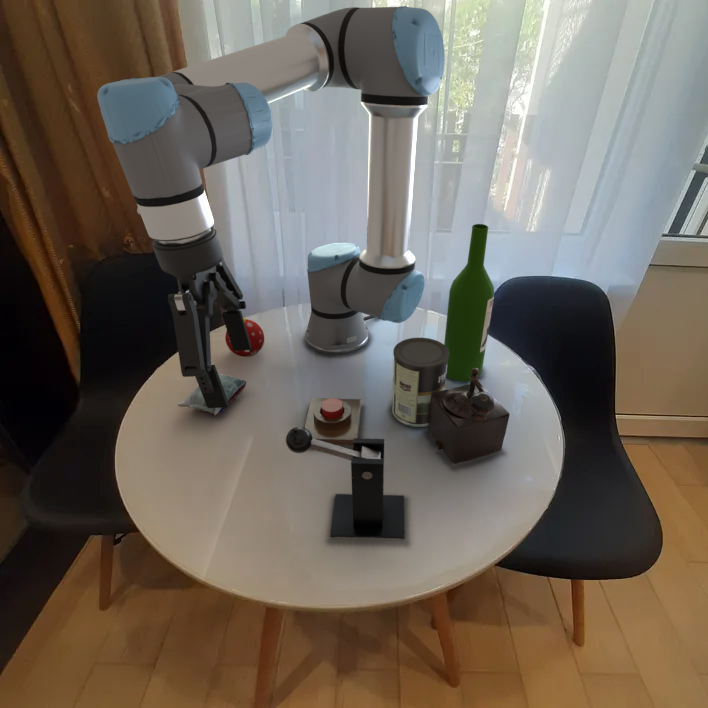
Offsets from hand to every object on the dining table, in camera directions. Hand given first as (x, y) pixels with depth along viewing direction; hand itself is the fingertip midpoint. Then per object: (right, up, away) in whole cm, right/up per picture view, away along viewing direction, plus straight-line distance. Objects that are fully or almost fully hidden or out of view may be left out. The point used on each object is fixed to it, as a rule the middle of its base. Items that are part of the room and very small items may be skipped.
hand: (231, 375), depth 71 cm
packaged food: (-12, -5, +28) cm, 31 cm away
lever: (+14, -12, -3) cm, 19 cm away
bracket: (+20, -22, +5) cm, 30 cm away
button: (+13, -6, +21) cm, 25 cm away
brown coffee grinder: (+38, -14, +18) cm, 44 cm away
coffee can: (+29, -7, +27) cm, 40 cm away
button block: (+12, -9, +23) cm, 27 cm away
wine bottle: (+40, +2, +39) cm, 55 cm away
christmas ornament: (-10, +6, +43) cm, 45 cm away
